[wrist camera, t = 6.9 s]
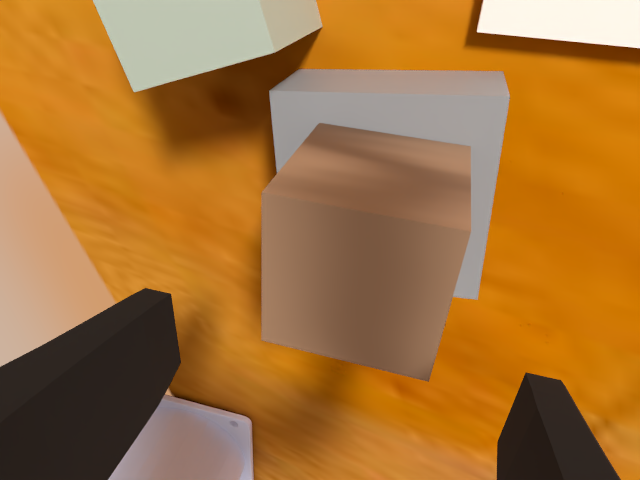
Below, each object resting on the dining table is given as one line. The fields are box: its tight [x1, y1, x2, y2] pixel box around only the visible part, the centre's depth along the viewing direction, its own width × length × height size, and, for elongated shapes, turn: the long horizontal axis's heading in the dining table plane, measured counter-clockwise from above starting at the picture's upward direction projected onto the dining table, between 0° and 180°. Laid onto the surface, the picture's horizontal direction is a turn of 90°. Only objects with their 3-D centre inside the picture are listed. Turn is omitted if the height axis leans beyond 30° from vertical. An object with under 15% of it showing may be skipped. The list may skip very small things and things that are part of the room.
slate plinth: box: [269, 69, 510, 300], centre depth 17 cm, size 7×7×4 cm
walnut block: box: [262, 123, 471, 382], centre depth 14 cm, size 5×5×5 cm
